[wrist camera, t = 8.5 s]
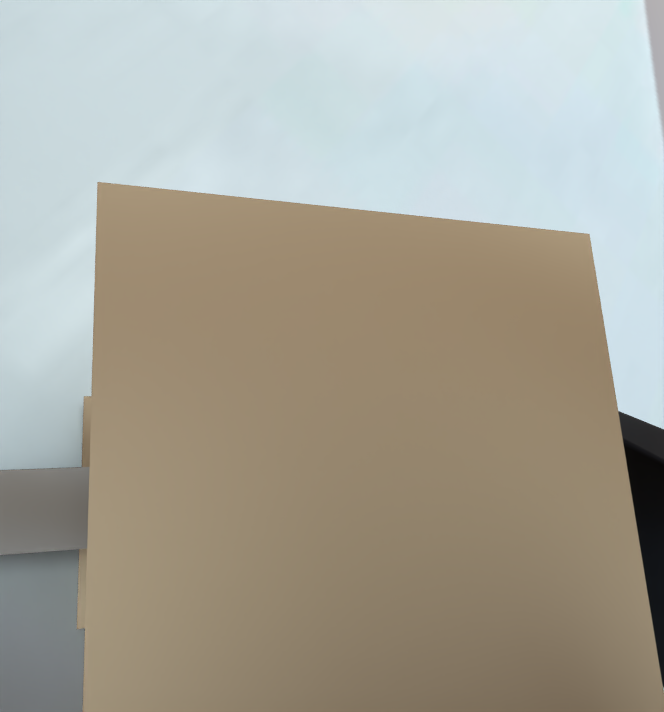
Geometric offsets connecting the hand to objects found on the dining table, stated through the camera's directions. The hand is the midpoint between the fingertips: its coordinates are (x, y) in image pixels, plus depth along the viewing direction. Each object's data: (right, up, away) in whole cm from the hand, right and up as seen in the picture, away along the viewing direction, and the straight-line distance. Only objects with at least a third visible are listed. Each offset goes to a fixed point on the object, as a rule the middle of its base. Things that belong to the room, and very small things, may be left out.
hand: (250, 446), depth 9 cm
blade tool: (-8, -2, +5) cm, 10 cm away
